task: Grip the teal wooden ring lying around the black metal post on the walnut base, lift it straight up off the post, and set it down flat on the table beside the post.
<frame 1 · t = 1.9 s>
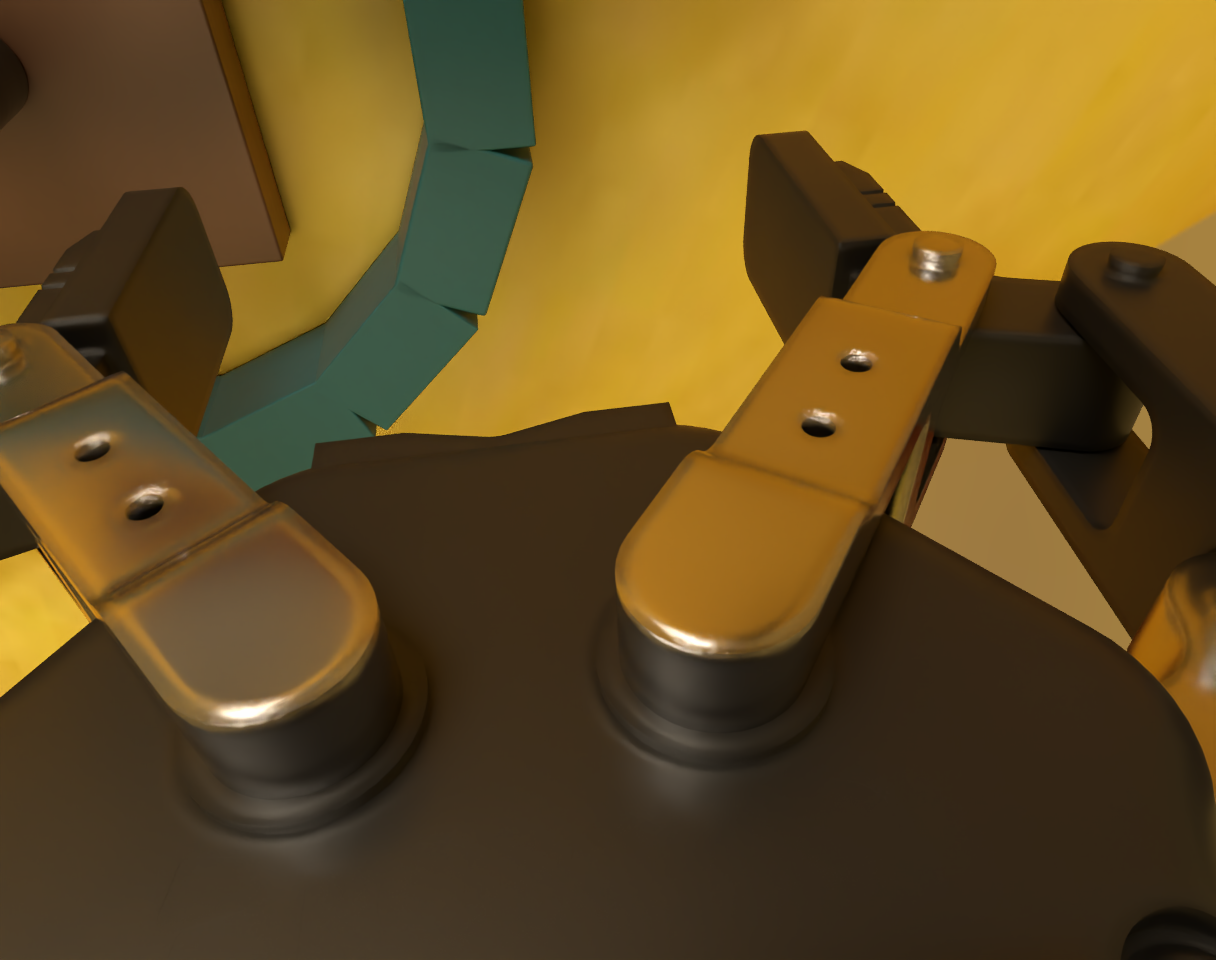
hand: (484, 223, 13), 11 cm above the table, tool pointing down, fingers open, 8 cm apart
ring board: (2, 47, 20), on the table
ring: (2, 47, 20), on the table
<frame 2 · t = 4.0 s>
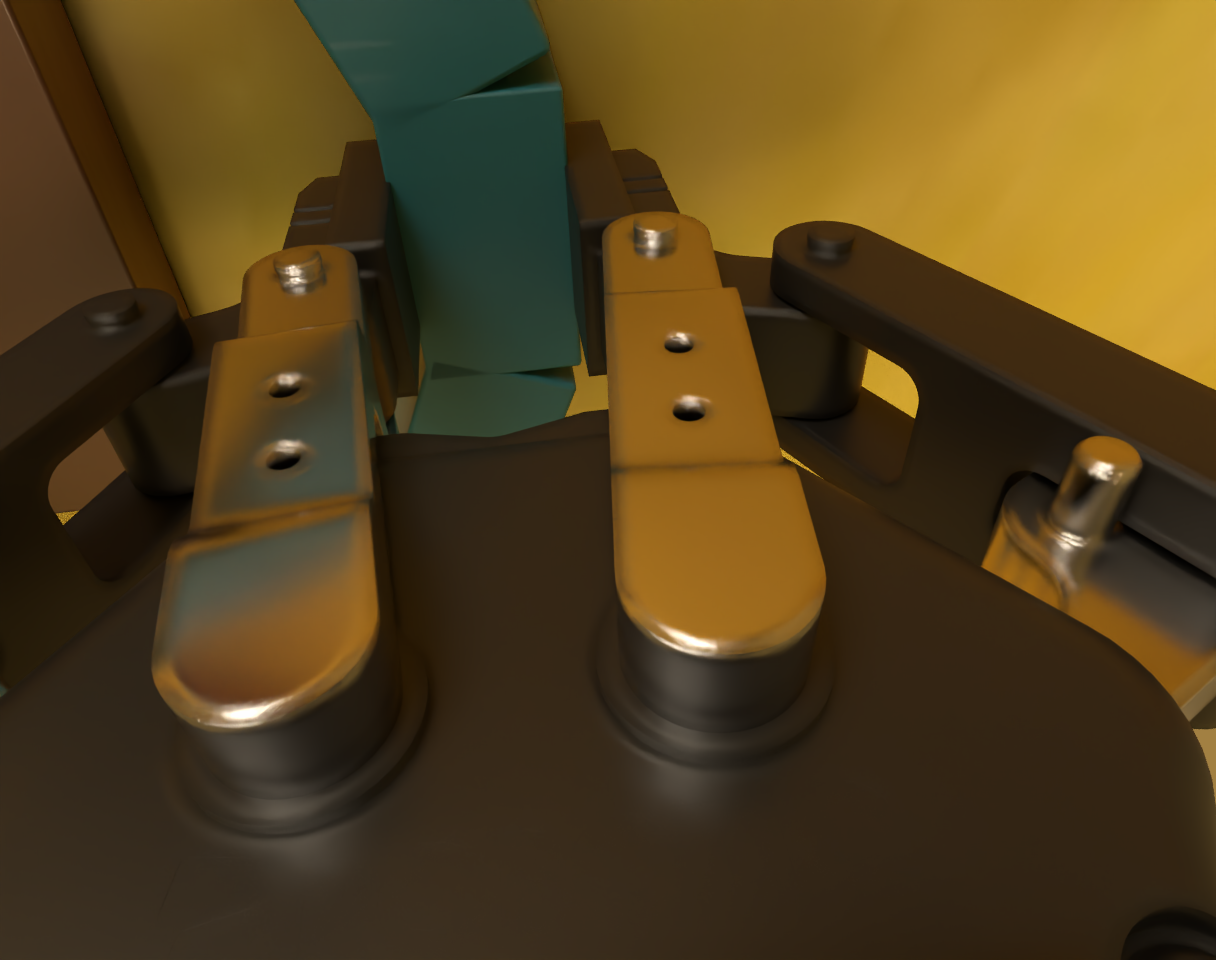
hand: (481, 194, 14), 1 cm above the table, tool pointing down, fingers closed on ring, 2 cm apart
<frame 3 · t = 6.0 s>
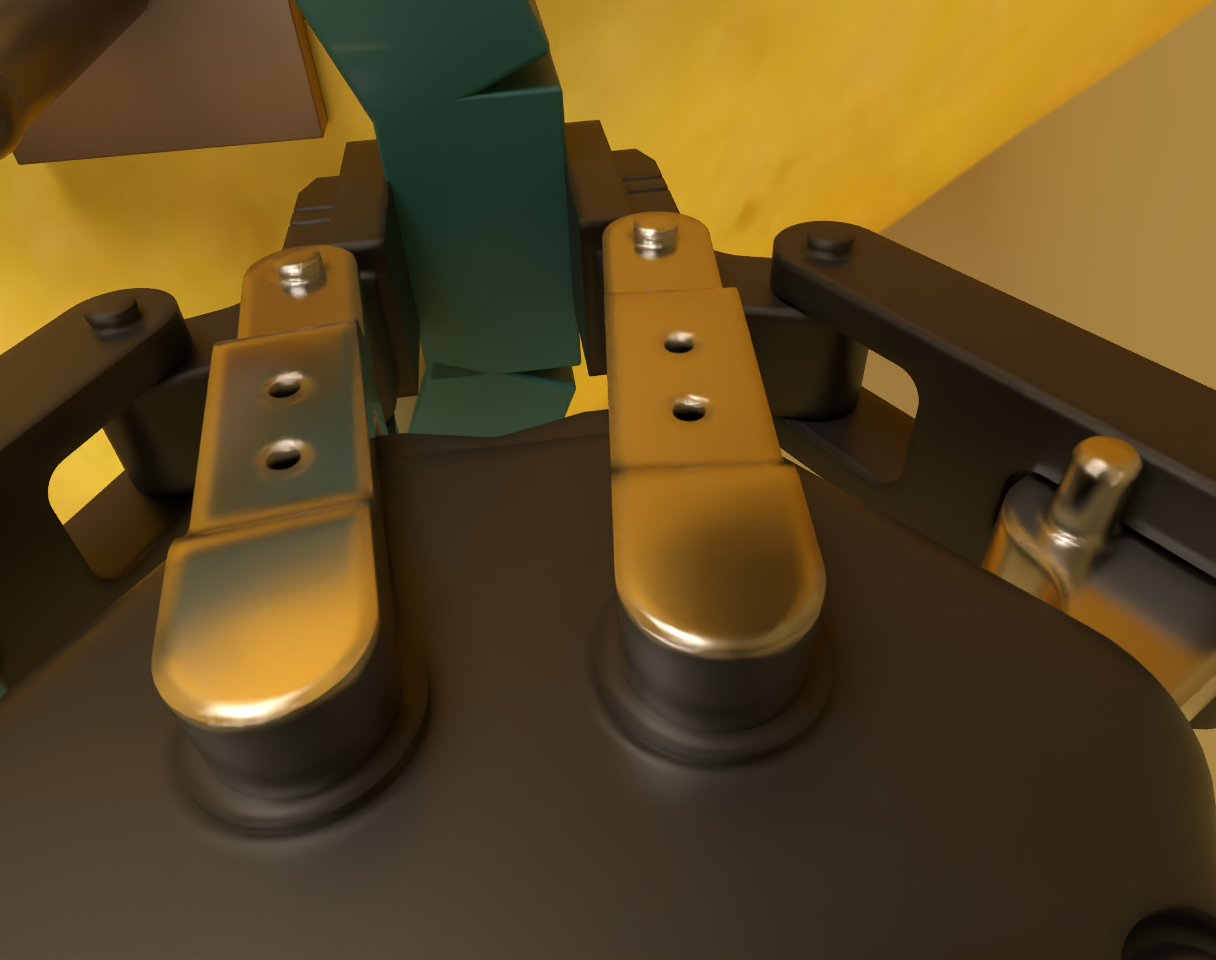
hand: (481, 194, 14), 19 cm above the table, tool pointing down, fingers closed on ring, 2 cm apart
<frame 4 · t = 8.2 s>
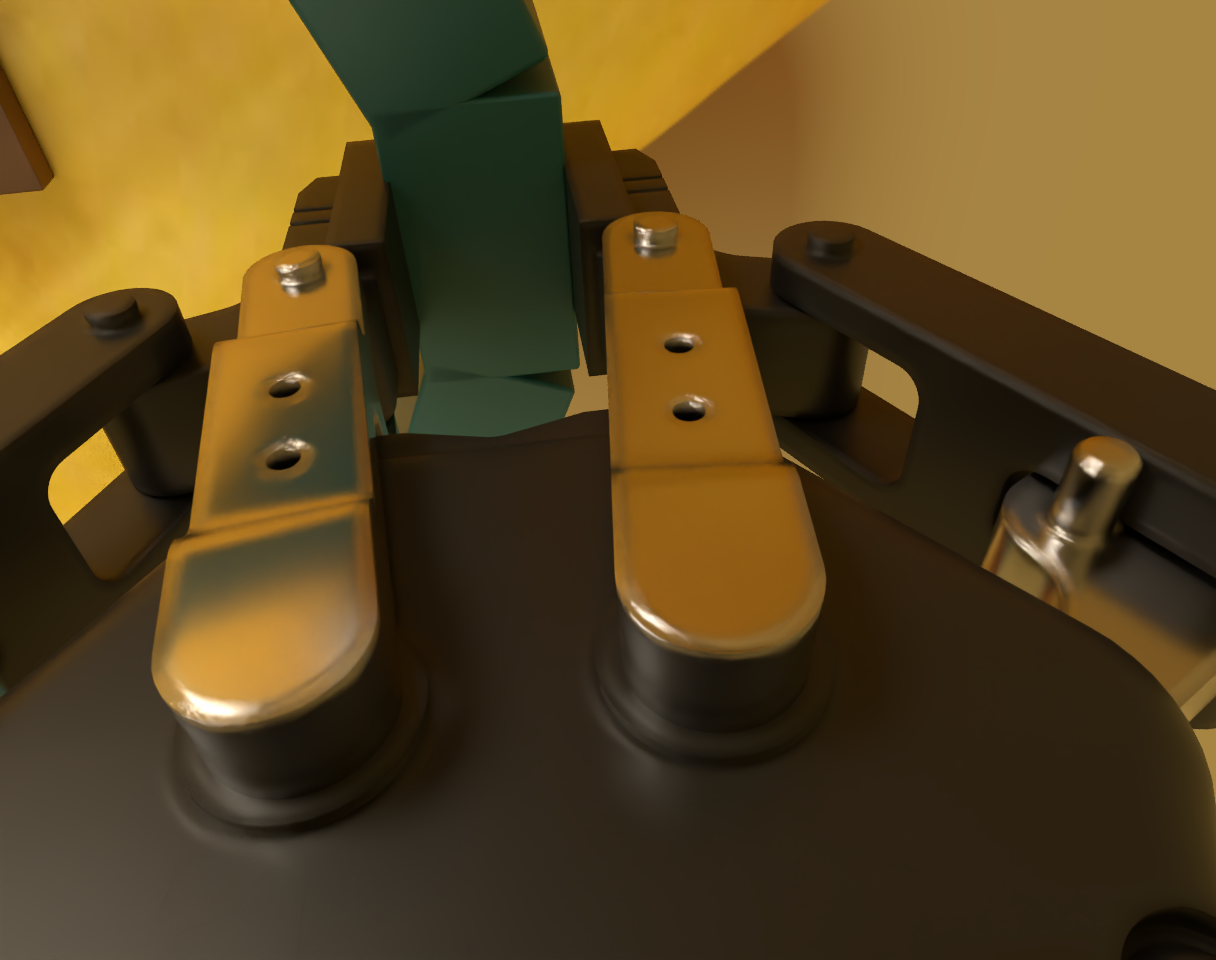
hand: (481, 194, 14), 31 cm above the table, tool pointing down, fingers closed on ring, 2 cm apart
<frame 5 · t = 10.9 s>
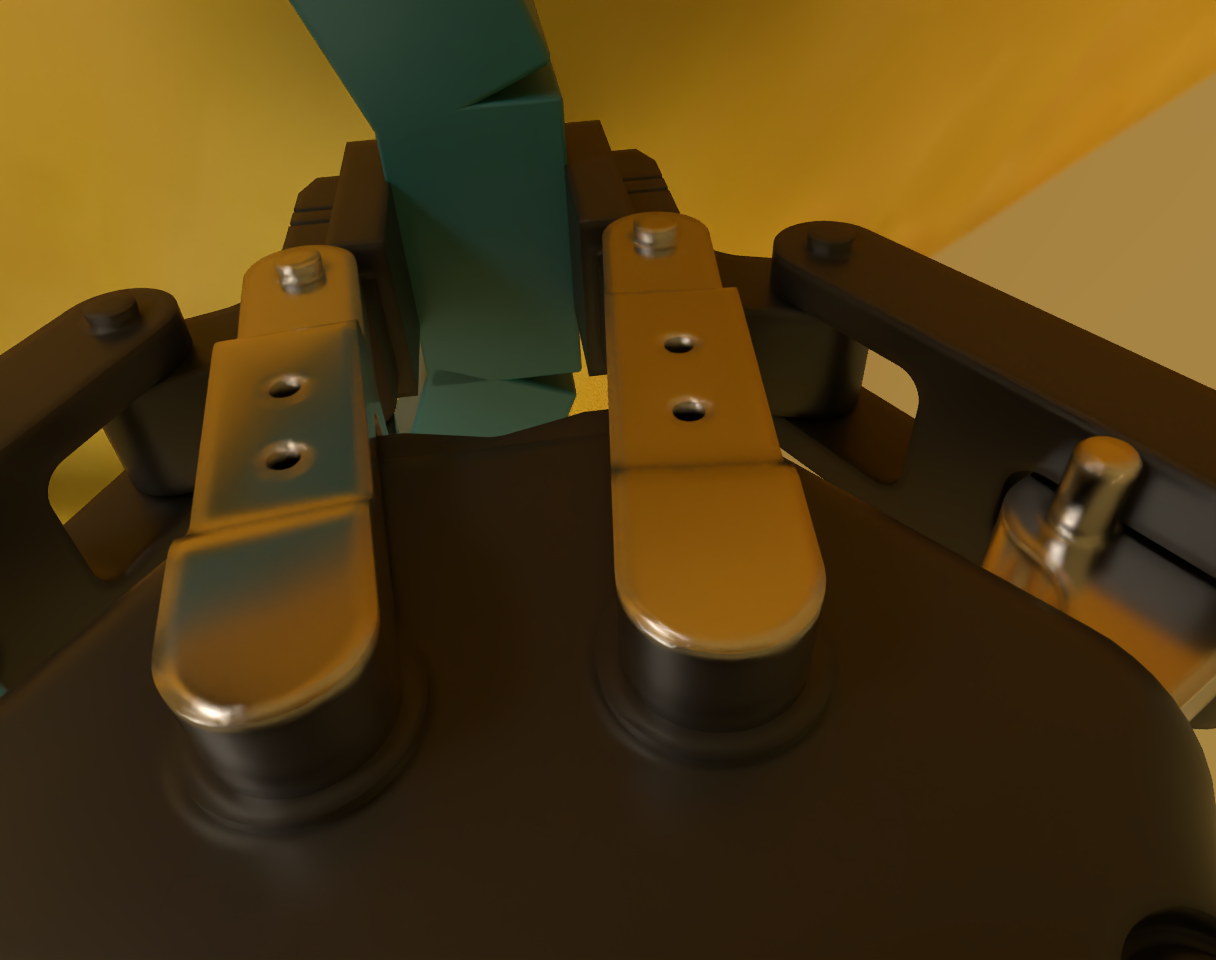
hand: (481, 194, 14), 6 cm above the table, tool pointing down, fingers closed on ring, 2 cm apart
when the fingers open (1 cm above the table, at t = 12.5 s): ring stays where it is, on the table.
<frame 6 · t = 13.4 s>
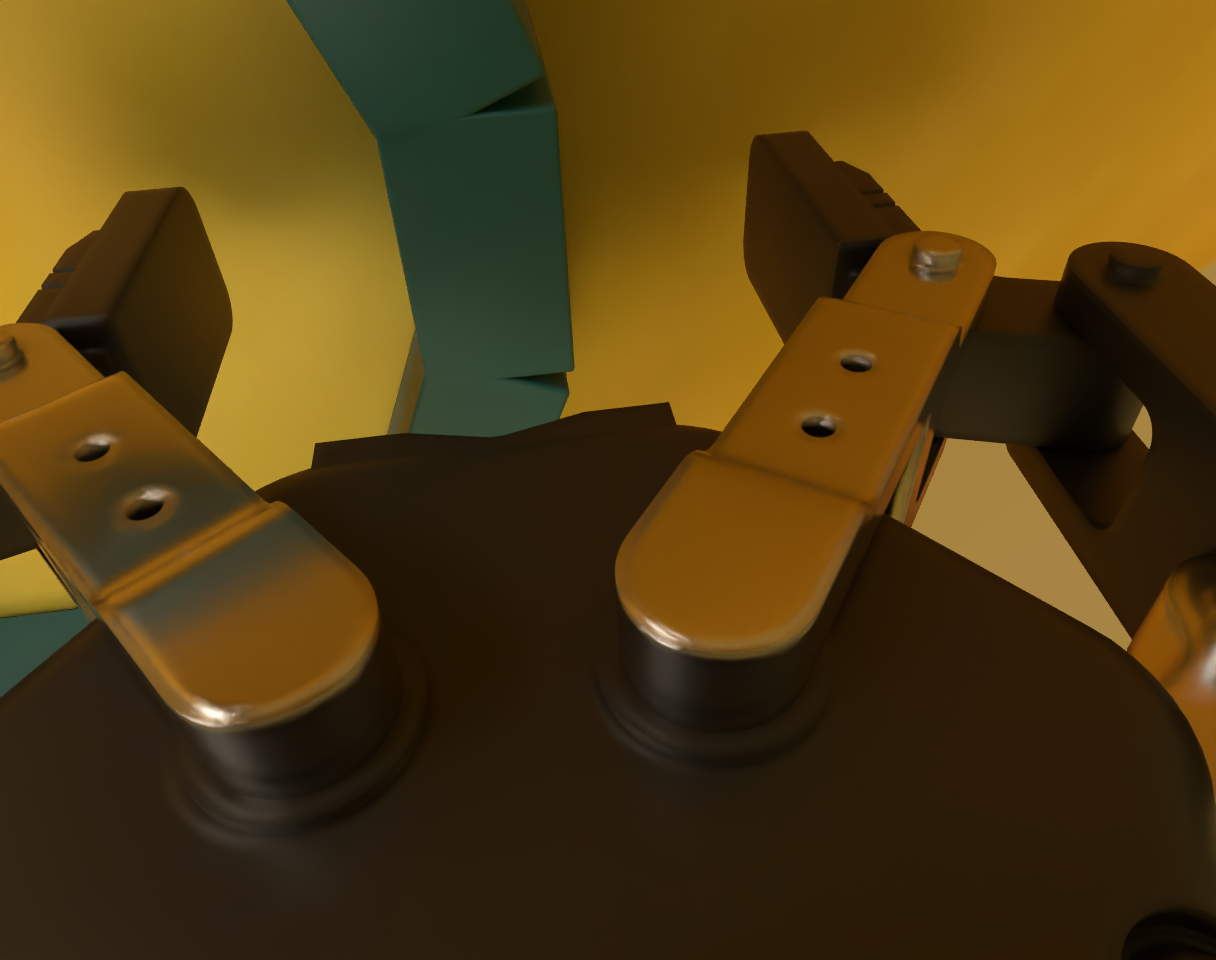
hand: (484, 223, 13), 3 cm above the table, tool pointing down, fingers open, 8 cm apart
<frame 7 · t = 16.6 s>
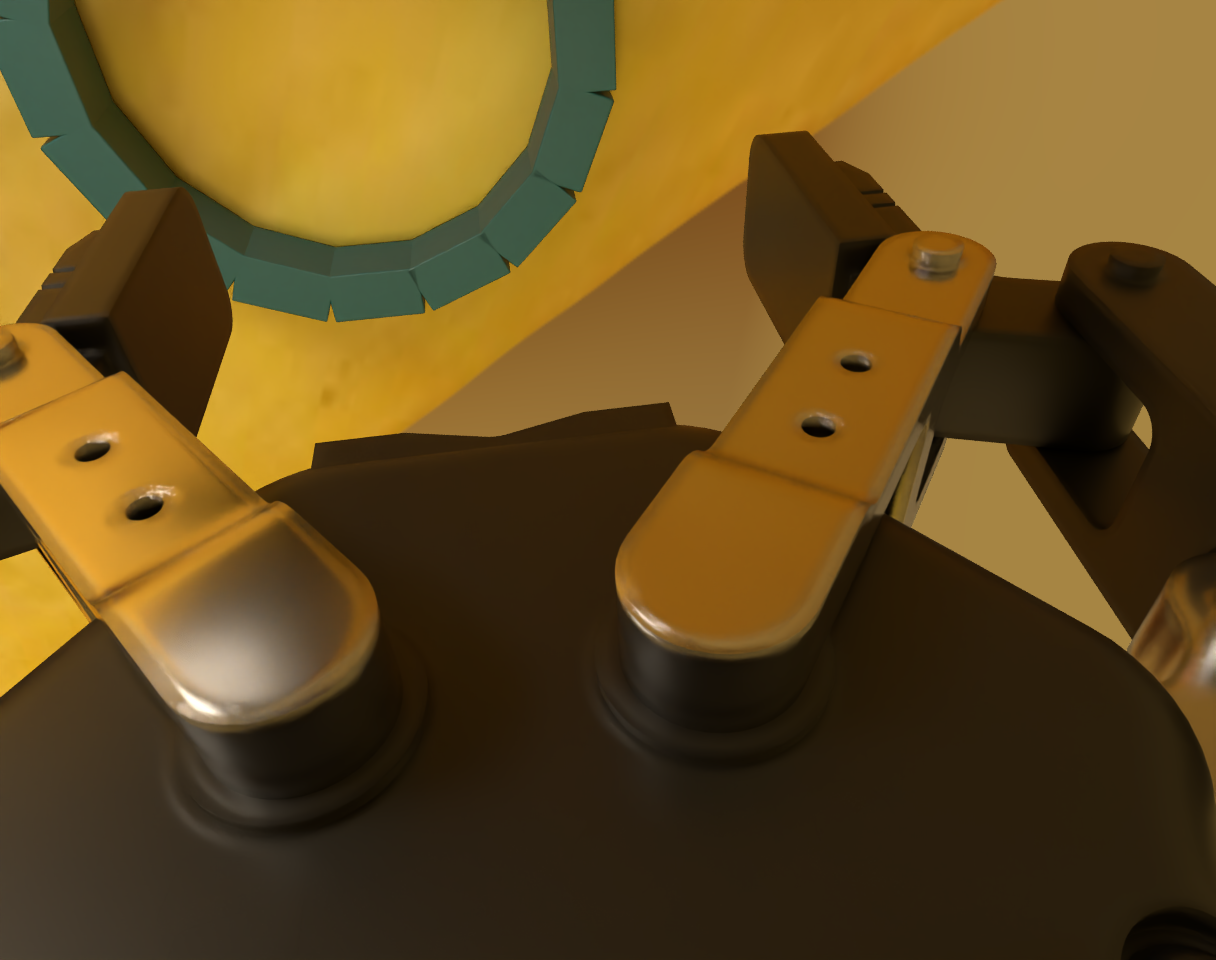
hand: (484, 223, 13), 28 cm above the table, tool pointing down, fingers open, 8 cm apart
ring: (326, 36, 36), on the table
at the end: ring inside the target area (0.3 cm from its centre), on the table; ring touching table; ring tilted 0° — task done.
